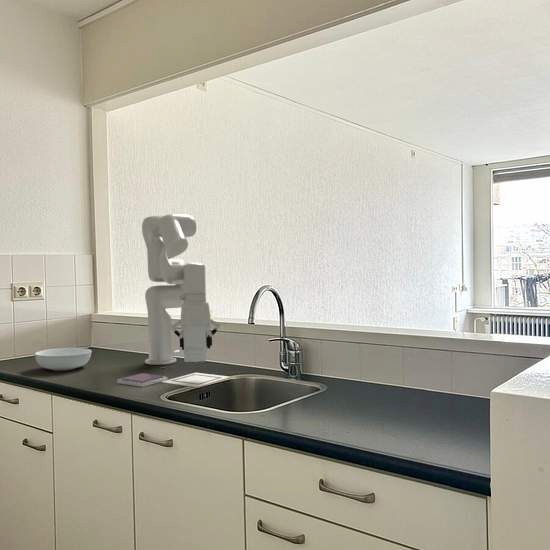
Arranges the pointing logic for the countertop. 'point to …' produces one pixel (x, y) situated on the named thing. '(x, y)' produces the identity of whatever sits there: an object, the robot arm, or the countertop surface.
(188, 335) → the supplement box
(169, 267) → the robot arm
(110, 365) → the countertop surface
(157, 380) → the ink pad
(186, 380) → the print sheet
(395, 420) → the countertop surface
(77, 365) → the serving bowl
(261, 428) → the countertop surface
